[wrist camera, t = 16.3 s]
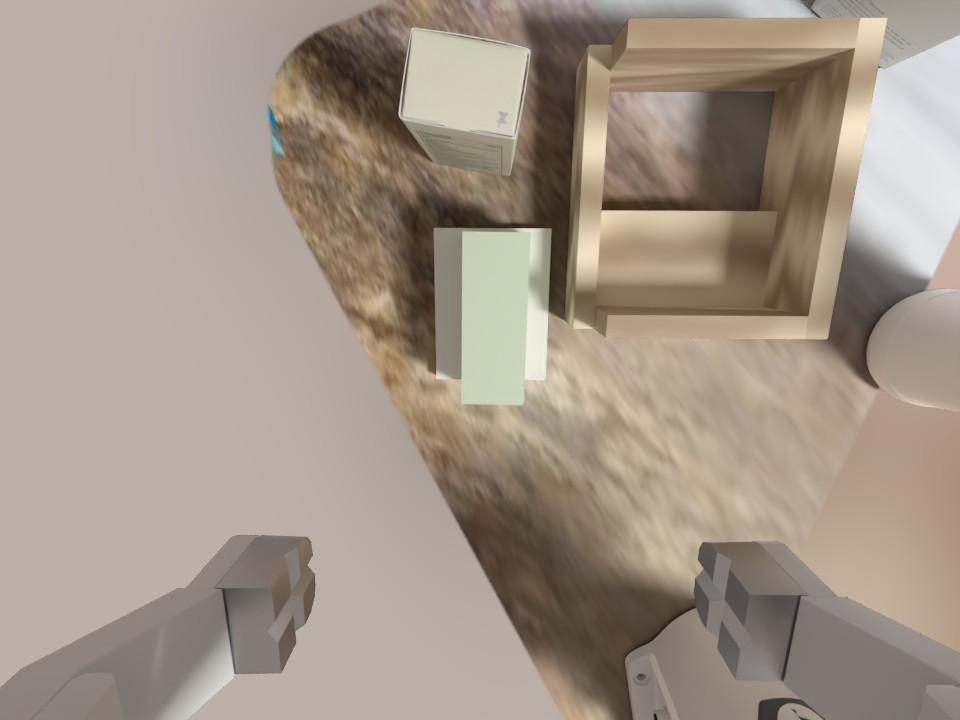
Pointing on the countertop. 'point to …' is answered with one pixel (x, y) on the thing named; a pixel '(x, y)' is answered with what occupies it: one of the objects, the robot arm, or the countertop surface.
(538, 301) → the mat
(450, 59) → the skincare box
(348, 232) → the countertop surface
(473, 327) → the block
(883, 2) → the supplement box
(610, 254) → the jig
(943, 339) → the vodka
